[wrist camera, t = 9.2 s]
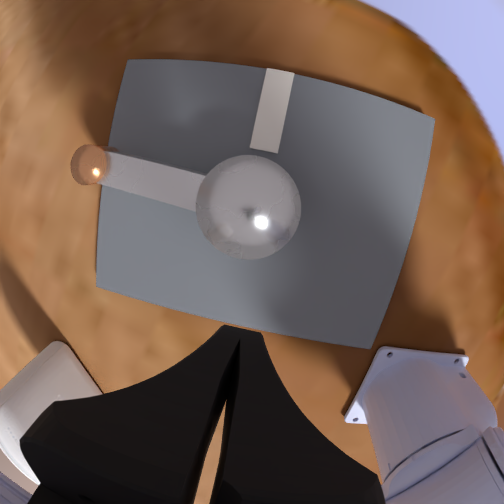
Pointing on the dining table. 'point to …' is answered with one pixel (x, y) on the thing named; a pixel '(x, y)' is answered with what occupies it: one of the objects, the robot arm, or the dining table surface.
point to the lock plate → (307, 182)
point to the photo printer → (39, 396)
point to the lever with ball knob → (207, 195)
